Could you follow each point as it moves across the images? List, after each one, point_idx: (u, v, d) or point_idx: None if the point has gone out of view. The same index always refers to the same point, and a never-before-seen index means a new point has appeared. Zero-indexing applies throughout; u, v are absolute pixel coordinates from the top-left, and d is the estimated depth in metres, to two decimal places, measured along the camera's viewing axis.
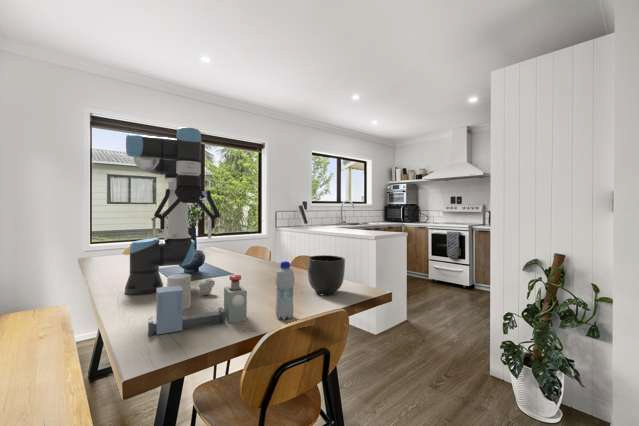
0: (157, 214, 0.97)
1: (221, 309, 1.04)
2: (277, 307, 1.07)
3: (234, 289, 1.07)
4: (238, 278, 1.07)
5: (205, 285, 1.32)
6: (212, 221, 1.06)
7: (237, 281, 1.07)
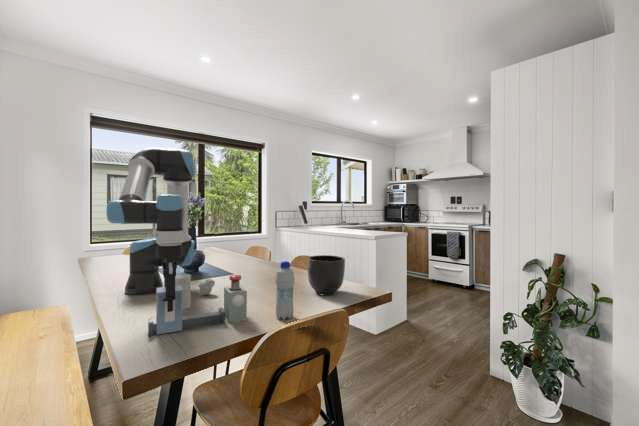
0: None
1: (221, 309, 1.04)
2: (277, 307, 1.07)
3: (234, 289, 1.07)
4: (238, 278, 1.07)
5: (205, 285, 1.32)
6: (167, 303, 0.92)
7: (237, 281, 1.07)
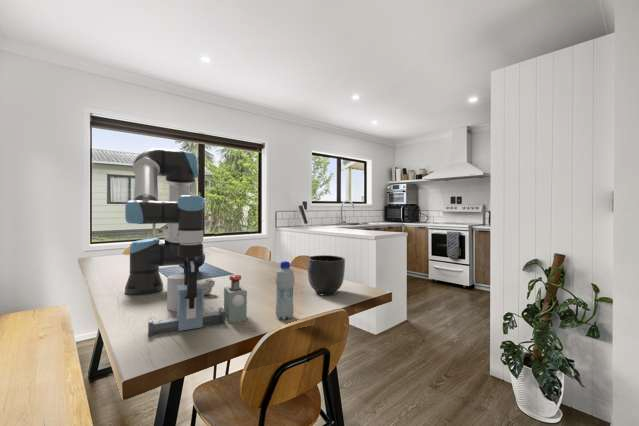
0: None
1: (221, 309, 1.04)
2: (277, 307, 1.07)
3: (234, 289, 1.07)
4: (238, 278, 1.07)
5: (205, 285, 1.32)
6: (189, 300, 0.95)
7: (237, 281, 1.07)
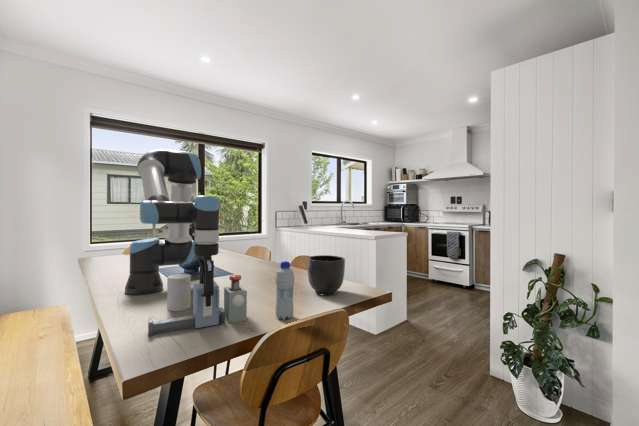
0: (199, 283, 1.06)
1: (221, 309, 1.04)
2: (277, 307, 1.07)
3: (234, 289, 1.07)
4: (238, 278, 1.07)
5: None
6: (205, 298, 0.97)
7: (237, 281, 1.07)
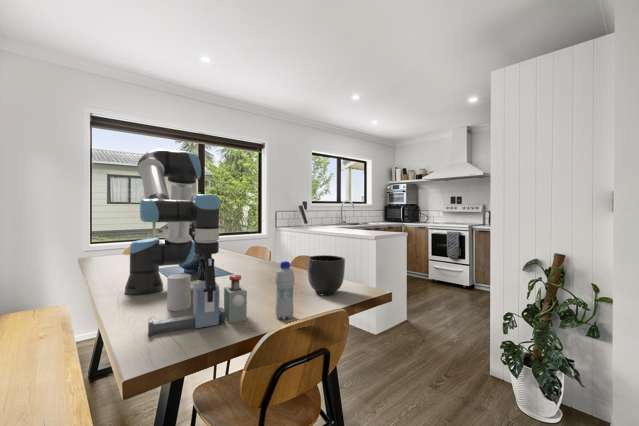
0: (198, 275, 1.09)
1: (221, 309, 1.04)
2: (277, 307, 1.07)
3: (234, 289, 1.07)
4: (238, 278, 1.07)
5: None
6: (207, 294, 0.95)
7: (237, 281, 1.07)
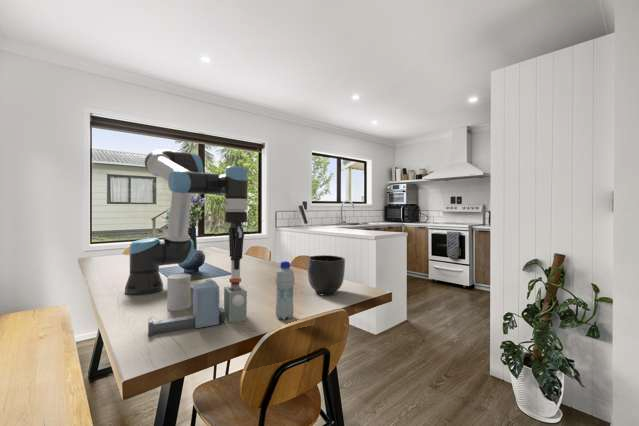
0: (230, 253, 1.10)
1: (221, 309, 1.04)
2: (277, 307, 1.07)
3: None
4: (238, 281, 1.07)
5: None
6: (234, 262, 1.06)
7: (237, 284, 1.07)
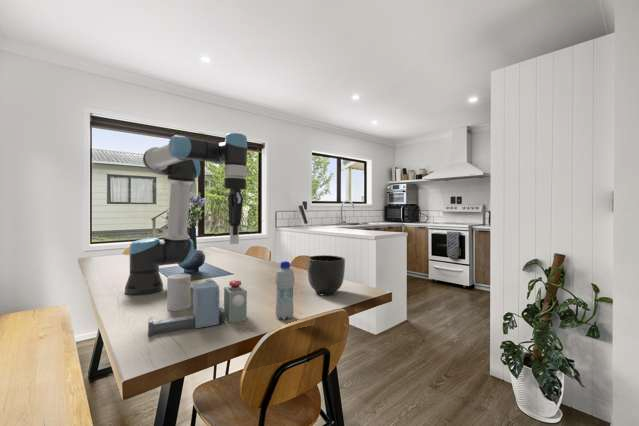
0: (229, 220, 1.12)
1: (221, 309, 1.04)
2: (277, 307, 1.07)
3: None
4: (238, 284, 1.07)
5: None
6: (233, 228, 1.09)
7: (237, 287, 1.07)
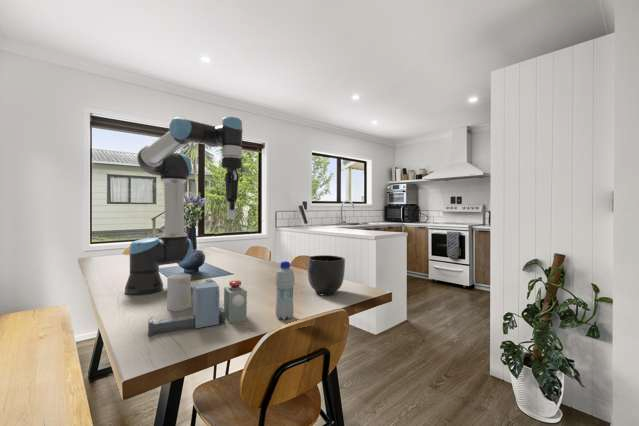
0: (226, 197, 1.23)
1: (221, 309, 1.04)
2: (277, 307, 1.07)
3: None
4: (238, 284, 1.07)
5: None
6: (230, 203, 1.19)
7: (237, 287, 1.07)
